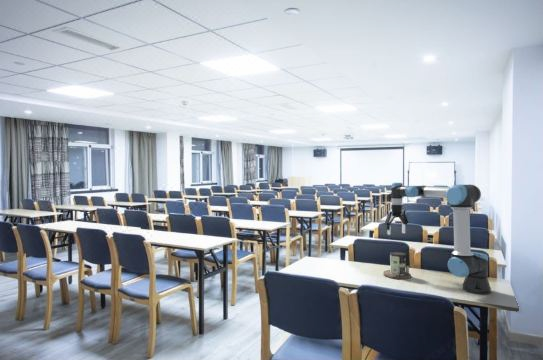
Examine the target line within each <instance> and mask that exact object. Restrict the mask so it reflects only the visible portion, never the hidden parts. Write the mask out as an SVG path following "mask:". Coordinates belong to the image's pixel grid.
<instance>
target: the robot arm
mask: <svg viewBox="0 0 543 360" xmlns="http://www.w3.org/2000/svg"><path fill="white" fill-rule="evenodd" d="M390 188H391V191H390V192H391V204H390V205H391V207H390V209H391V210H388V212H387V216H386V218H385V221H384V223H383V224H384V225H385V226H386V230H387V232H386V234H387V235H388V236H391V235H392V233H391V232H392V227H391V225H392V223H393V221H394V219H396V218H398V219H399V220H400V222H401V223H402V224H401V234H406V230H407V229H406V228H407V225H408V224H409V220H408V217H407V214H406V211H405V210H403V197H405V198H416V197H424V198H425V197H427V198H440V199H441V198H442V199H446V201H447V202H448V204H449V205H450V206H449V207H450V208H451V210H452V211H453V212H452V214H453V215H452V216H453V217H452V218H453V219H452V220H453V221H452V222H453V251H452V252H451V258H449V259H448V261H447V268H448V271H449V272H450V273H451V274H452V275H453V276H455V277H458V278H464V280H463V283H462V289H463V291H465V292H469V293H471V292H472V294H476V295H477V294H478V295H489V294H491V293H492V288H491V285H490V282H489V257H488V254H486V253H484V252H478V251H471V224H470V223H471V222H470V221H471V220H470V217H471V215H470V210H471V209H472V208H473V204H475V203H478V202H479V200H480V199H481V198H482V197H481V196H482V192H481V190H480V188H479V187H478V186H477V185H474V184H454V185H452V186H438V185H436V186H435V185H403V183H402V182H392V183H391V187H390ZM488 293H489V294H488Z"/></svg>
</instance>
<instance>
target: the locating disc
mask: <svg viewBox="0 0 543 360" xmlns="http://www.w3.org/2000/svg"><path fill="white" fill-rule="evenodd" d="M382 274H383V276H384V277H386V278H389V279H393V280H400V281H401V280H402V281H403V280H408V279H409V280H410V279H411V277H412V274H411V273H410V266H409V265H405V275H401V276H400V267H397V275H393V274H391V273H390V269H387V270H384V271H383V273H382Z"/></svg>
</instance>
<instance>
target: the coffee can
mask: <svg viewBox="0 0 543 360" xmlns="http://www.w3.org/2000/svg"><path fill="white" fill-rule="evenodd" d="M389 262H390V263H389V264H390V265H389V270H390V273H391V274H393V275H397V267H400V276H401V275H405V272H406V253H405V252H400V251H391V252H389Z"/></svg>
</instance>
